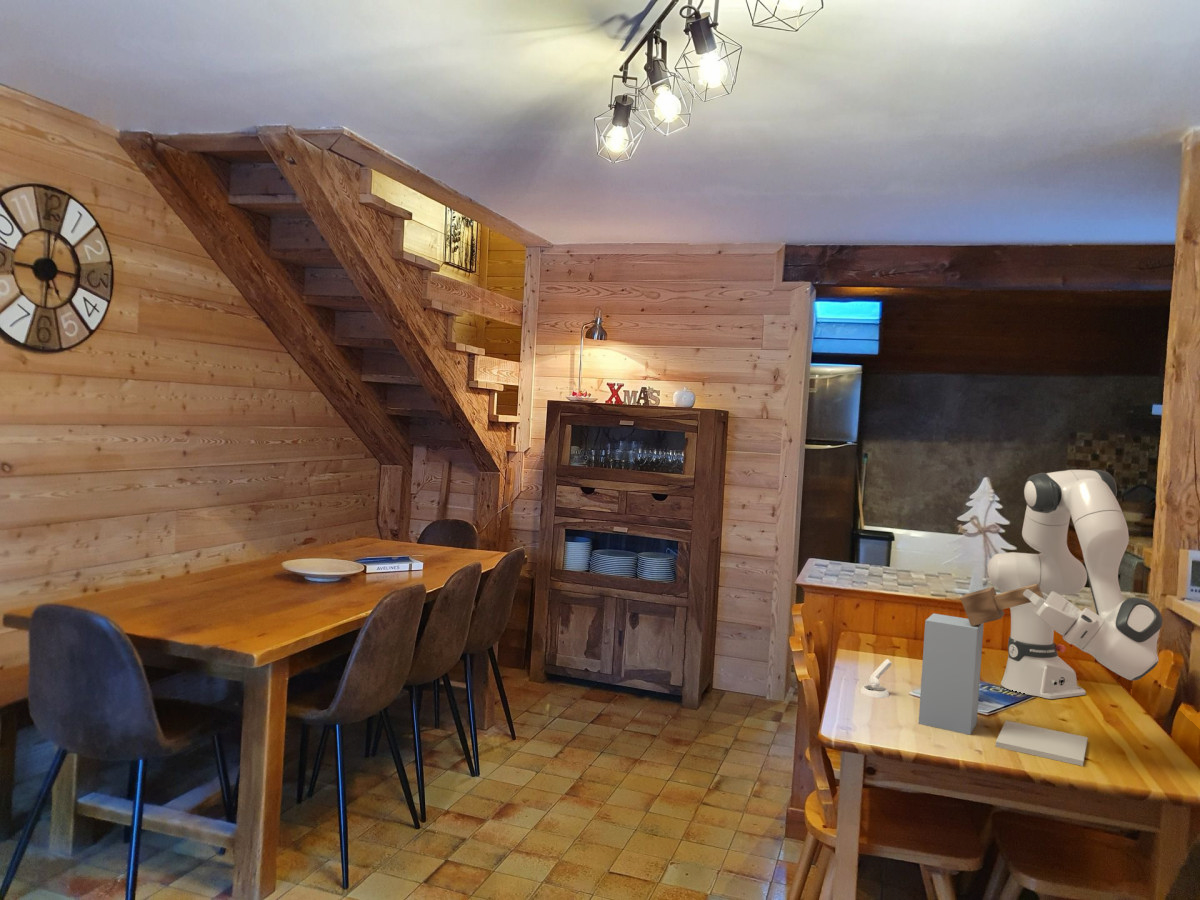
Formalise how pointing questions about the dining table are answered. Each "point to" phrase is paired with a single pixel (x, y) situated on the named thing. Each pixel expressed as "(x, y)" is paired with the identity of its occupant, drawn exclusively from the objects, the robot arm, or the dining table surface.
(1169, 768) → the dining table surface
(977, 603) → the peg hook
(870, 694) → the hook
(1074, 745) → the felt pad
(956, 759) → the dining table surface
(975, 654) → the post
